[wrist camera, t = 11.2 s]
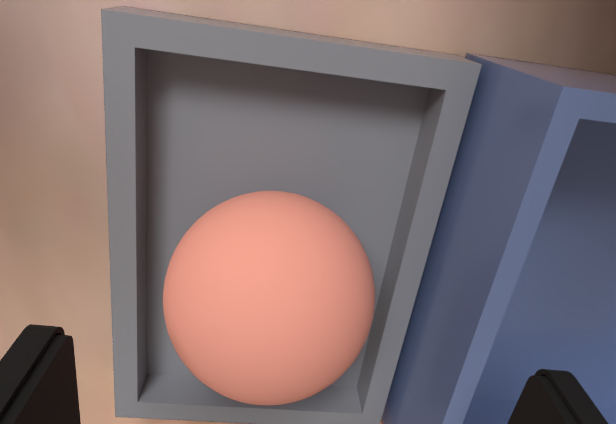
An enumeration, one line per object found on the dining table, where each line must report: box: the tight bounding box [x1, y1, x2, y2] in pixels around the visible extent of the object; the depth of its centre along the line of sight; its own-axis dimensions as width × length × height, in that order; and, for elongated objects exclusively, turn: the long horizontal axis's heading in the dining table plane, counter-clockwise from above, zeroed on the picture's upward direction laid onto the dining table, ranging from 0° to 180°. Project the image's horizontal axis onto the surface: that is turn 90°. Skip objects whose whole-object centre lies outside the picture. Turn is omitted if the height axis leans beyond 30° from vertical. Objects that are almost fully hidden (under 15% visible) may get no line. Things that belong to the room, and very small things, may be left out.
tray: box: [101, 6, 482, 424], centre depth 16 cm, size 10×14×2 cm
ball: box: [163, 191, 375, 405], centre depth 14 cm, size 6×6×6 cm
